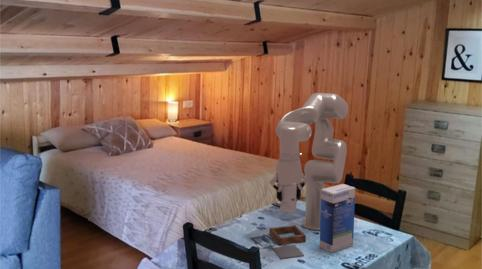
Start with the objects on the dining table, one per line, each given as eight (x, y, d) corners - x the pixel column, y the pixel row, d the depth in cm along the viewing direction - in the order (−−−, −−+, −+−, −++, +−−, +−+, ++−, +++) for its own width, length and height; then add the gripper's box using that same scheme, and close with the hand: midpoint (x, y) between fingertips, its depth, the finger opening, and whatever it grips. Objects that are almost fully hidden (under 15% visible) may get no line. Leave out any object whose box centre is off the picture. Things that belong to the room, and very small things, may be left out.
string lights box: (341, 239, 212) (343, 183, 207) (354, 245, 206) (356, 187, 201) (318, 247, 205) (320, 188, 200) (331, 253, 199) (333, 193, 194)
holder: (295, 231, 222) (295, 225, 221) (305, 242, 210) (305, 235, 209) (269, 234, 218) (269, 228, 218) (278, 245, 207) (278, 238, 206)
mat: (294, 246, 206) (294, 245, 206) (303, 256, 196) (303, 254, 196) (272, 249, 203) (272, 247, 203) (280, 259, 194) (280, 258, 194)
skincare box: (279, 211, 195) (280, 182, 193) (282, 207, 199) (282, 179, 197) (294, 213, 193) (295, 183, 191) (297, 209, 197) (297, 180, 195)
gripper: (305, 153, 198) (305, 194, 201) (265, 156, 193) (265, 198, 197) (313, 157, 190) (312, 200, 194) (271, 160, 186) (271, 204, 189)
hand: (288, 199), depth 195 cm, fingers closed on skincare box, 7 cm apart
